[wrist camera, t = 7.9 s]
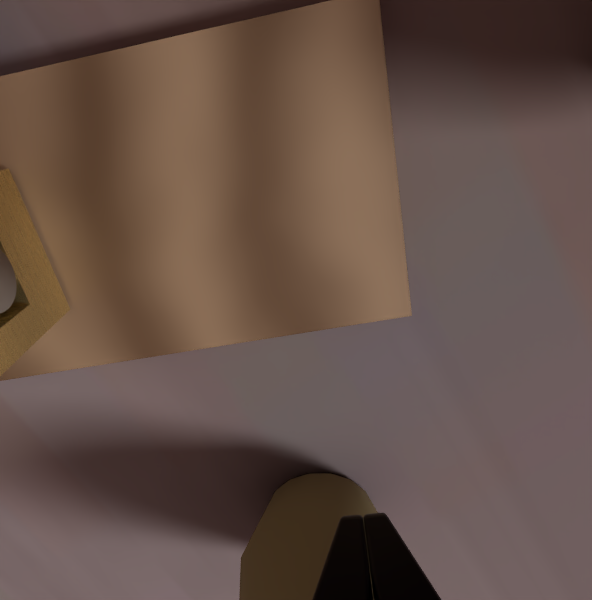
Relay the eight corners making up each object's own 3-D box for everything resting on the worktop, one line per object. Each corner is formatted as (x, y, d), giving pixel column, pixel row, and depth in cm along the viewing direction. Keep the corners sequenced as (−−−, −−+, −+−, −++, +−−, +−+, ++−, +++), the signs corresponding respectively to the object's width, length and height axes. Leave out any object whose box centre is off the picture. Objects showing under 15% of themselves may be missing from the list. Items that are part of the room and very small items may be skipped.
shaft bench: (373, -5, 16) (453, -110, 7) (406, 303, 21) (479, 469, 12) (-184, 123, 19) (-652, 163, 10) (-38, 375, 24) (-256, 560, 14)
